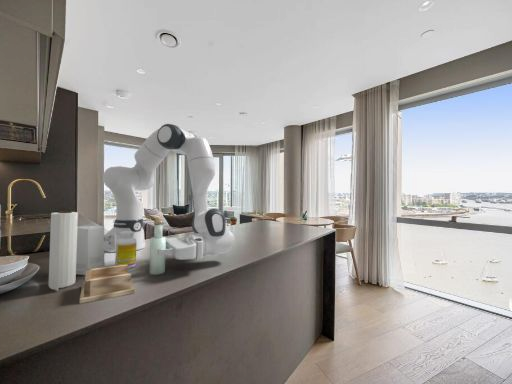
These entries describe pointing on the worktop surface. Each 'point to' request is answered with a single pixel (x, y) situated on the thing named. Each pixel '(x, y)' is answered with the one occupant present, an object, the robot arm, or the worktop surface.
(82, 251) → the skincare box
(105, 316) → the worktop surface
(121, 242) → the supplement bottle
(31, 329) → the worktop surface
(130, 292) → the bottle stand
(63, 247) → the paper towel roll
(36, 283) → the worktop surface
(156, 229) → the glass bottle
